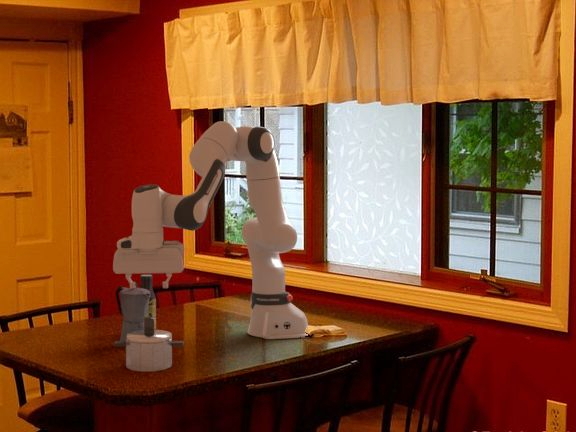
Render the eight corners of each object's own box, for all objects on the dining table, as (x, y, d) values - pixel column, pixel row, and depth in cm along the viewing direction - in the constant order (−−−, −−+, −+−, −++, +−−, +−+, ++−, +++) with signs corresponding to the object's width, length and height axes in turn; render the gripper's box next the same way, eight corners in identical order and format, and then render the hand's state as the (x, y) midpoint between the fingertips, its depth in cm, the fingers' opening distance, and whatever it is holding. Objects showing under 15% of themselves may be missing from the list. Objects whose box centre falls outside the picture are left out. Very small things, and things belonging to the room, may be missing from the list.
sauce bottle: (152, 336, 313) (151, 277, 311) (134, 335, 314) (133, 276, 312) (158, 332, 319) (158, 274, 317) (141, 331, 320) (140, 273, 318)
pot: (184, 359, 283) (184, 333, 282) (182, 371, 270) (181, 343, 269) (117, 360, 282) (117, 333, 281) (111, 371, 269) (111, 344, 268)
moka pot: (141, 350, 294) (140, 286, 292) (104, 343, 303) (103, 282, 300) (160, 343, 302) (160, 282, 300) (124, 337, 311) (123, 278, 309)
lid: (173, 333, 282) (173, 313, 281) (169, 343, 269) (169, 322, 268) (129, 333, 281) (129, 313, 281) (123, 344, 269) (123, 322, 268)
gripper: (184, 239, 276) (185, 285, 277) (114, 240, 275) (115, 286, 276) (183, 242, 269) (184, 289, 271) (111, 243, 269) (112, 290, 270)
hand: (149, 288), depth 274 cm, fingers open, 8 cm apart
